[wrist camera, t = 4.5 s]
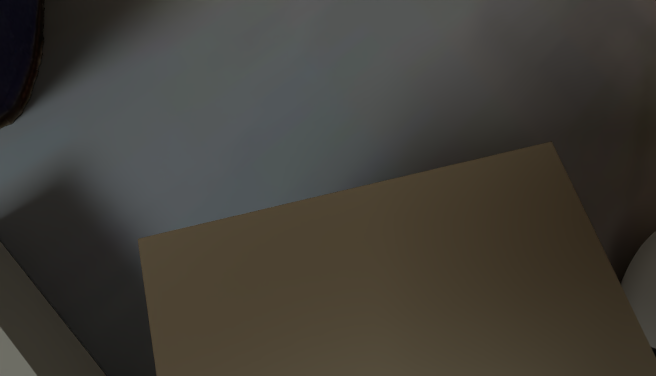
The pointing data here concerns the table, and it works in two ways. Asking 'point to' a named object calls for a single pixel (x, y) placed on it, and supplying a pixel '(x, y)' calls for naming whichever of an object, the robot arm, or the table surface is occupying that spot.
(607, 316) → the stepped wooden block
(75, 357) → the box
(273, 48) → the table surface
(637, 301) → the flower in vase
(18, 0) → the flask
